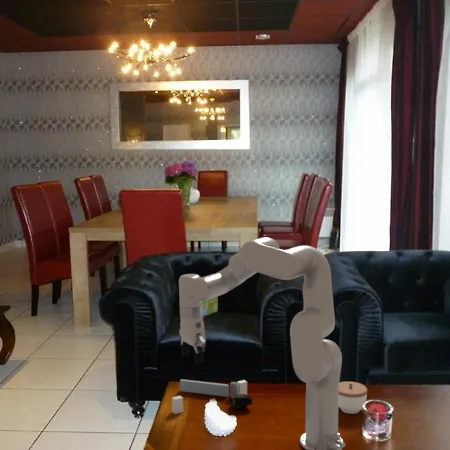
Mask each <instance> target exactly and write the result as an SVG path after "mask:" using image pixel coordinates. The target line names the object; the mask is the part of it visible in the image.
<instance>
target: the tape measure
mask: <svg viewBox="0 0 450 450" xmlns="http://www.w3.org/2000/svg"><path fill="white" fill-rule="evenodd" d="M229 397H230V396H229ZM229 404H230V406H231V407H233V408H234V407H235V408H236V409H239V408H244V407H247V406H251V405H252V404H253V398H252V397H251V396H249V395H248V394H247V395H245V394H235V395H232V396H231V397H230V398H229Z"/></svg>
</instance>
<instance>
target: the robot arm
mask: <svg viewBox="0 0 450 450" xmlns="http://www.w3.org/2000/svg"><path fill="white" fill-rule="evenodd" d="M257 273H259V274H262V275H265V276H269V277H272V278H274V279H278V280H284V281H288V280H293V279H296V278H298V277H301V276H303V279H304V280H303V285H302V296H303V297H302V298H303V309H302V311H299V312H297V314H295V315H294V317H293V318H292V320H291V323H290V328H289V336H290V347H291V348H290V349H291V357H292V359H291V361H292V366H293V371H294V372H295V375H296V376H297V378H298V379H299V380H300V381H302V382H303V383H306V384H305V385H306V387H305V389H306V390H305V433H303V434H302V435H301V436H300V438H299V442H300V445H301V447H302V448H304V449H305V450H343V448H345V446H346V443H345V442H344V440H343V438H342V437H341V433H339V406H338V399H339V383H340V377H341V371H342V370H341V369H342V363H343V356H342V352H341V349H340V347H339V345H337V343H336V342H334V341H332V340H330V339H326V337H328V336H329V335H330V334H331V333H332V332H333V331H334V329H335V325H336V321H335V320H336V319H335V318H336V317H335V308H334V296H333V295H334V294H333V284H332V283H333V282H332V271H331V266H330V264H329V260H328V258H327V257H326V256H325V255H324V254H323V252H321V251H320V250H319V249H317V248H316V247H313V246H310V245H298V246H294V247H290V248H287V249H284V250H283V249H280V245H279V244H278V242H277V240H275V239H274V238H270V237H266V236H264V237H259V238H256V239H255V238H254V239H251V240H247V241H246V242H244V244H243V245H242V246H241V247H240V249H239V252H237V253H235V254H234V255H232V256H231V257H230V258H229V261H228V265H227V266H225V267H224V268H223V269H221V270H220V271H217V272H216V273H211V274H209V275H205V276H200V275H199V274H196V273H187V274H185V273H184V274H182V275H180V277H179V279H178V291H179V293H178V294H179V316H180V322H179V323H180V324H179V325H180V326H179V327H180V329H179V330H178V332H179V339H180V346H181V357H188V356H191V347H193V348H194V351H195V352H194V364H195V365H196V366H197V365H201V364H204V363H205V355H204V354H205V350H206V344H207V343H206V333H205V323H204V319H203V317H202V316H201V315H202V300H203V301H204V300H209V299H212V298H214V297H217V296H218V297H219V296H222V295H224V294H226V293H228V292H229V291H232V290H233V289H235V288H236V287H238V286H240V285H241V284H243V283H244V282H245V281H246V280H247V279H249V278H251V277H253V276H254V275H255V274H257Z"/></svg>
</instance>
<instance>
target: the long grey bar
mask: <svg viewBox="0 0 450 450" xmlns="http://www.w3.org/2000/svg"><path fill="white" fill-rule="evenodd" d="M179 391H180V392H185V393H194V394H201V395H209V396H210V395H211V396H219V397H227V398H228V397H230V392H229V391H230V385H229V384H226V383H218V382H210V381H208V382H207V381H200V380H192V379H191V380H190V379H182V378H181V379H180V380H179Z"/></svg>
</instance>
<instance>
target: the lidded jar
mask: <svg viewBox="0 0 450 450" xmlns="http://www.w3.org/2000/svg"><path fill="white" fill-rule="evenodd" d="M367 394H368V388H367V387H366V386H365V384H362V383H360V382H355V381H341V382H340V381H339V399H338V409H340V410H341V411H342V412H343V413H345V414H348V415H349V414H351V415H354V414H358V413H360V411H362V410H363V408H362V404H363V403H364V402H366V403H367V397H368V395H367Z"/></svg>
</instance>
